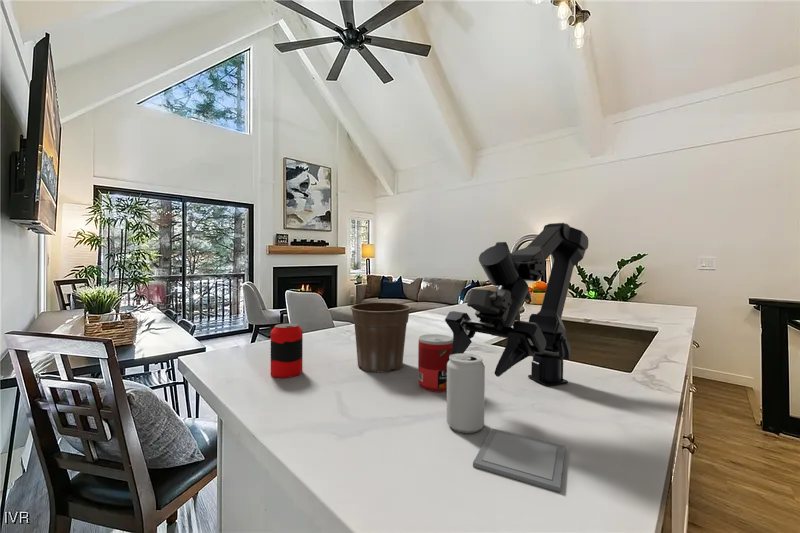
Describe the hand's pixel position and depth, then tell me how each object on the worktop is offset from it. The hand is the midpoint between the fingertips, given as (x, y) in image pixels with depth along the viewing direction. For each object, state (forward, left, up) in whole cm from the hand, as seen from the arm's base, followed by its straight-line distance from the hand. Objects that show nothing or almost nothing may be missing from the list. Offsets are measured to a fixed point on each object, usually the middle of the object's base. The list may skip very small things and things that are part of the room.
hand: (473, 368), depth 61 cm
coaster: (-1, +12, -9) cm, 15 cm away
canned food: (-1, -18, -10) cm, 21 cm away
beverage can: (+2, +1, -10) cm, 10 cm away
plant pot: (+7, -36, -10) cm, 38 cm away
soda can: (+31, -37, -10) cm, 49 cm away
